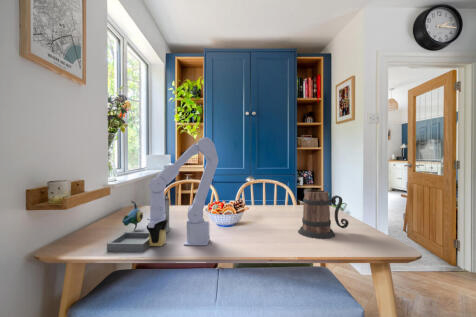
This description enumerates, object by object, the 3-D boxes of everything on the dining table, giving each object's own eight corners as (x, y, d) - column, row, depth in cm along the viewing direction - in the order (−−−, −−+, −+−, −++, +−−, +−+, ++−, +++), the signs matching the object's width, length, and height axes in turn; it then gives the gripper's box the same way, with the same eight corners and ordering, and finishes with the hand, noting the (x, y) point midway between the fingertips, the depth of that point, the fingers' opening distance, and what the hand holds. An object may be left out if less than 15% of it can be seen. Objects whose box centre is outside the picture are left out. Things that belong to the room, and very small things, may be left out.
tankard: (303, 239, 105) (304, 193, 105) (293, 227, 122) (294, 188, 121) (356, 238, 105) (357, 193, 105) (339, 227, 122) (339, 188, 122)
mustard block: (165, 241, 100) (165, 229, 100) (161, 246, 95) (161, 233, 95) (153, 241, 101) (153, 229, 101) (149, 245, 96) (149, 233, 96)
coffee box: (154, 227, 121) (154, 196, 121) (168, 226, 124) (167, 195, 123) (155, 233, 113) (155, 199, 113) (169, 231, 115) (169, 198, 115)
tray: (156, 238, 105) (156, 232, 105) (143, 251, 91) (143, 243, 91) (124, 238, 105) (124, 232, 105) (106, 250, 91) (106, 243, 91)
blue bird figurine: (139, 235, 115) (127, 234, 116) (148, 213, 124) (137, 212, 124) (127, 222, 106) (115, 221, 107) (138, 199, 114) (126, 198, 115)
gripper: (154, 203, 105) (154, 234, 105) (140, 211, 91) (140, 246, 91) (170, 203, 105) (170, 234, 105) (158, 211, 91) (158, 246, 91)
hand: (157, 240), depth 98 cm, fingers closed on mustard block, 5 cm apart
